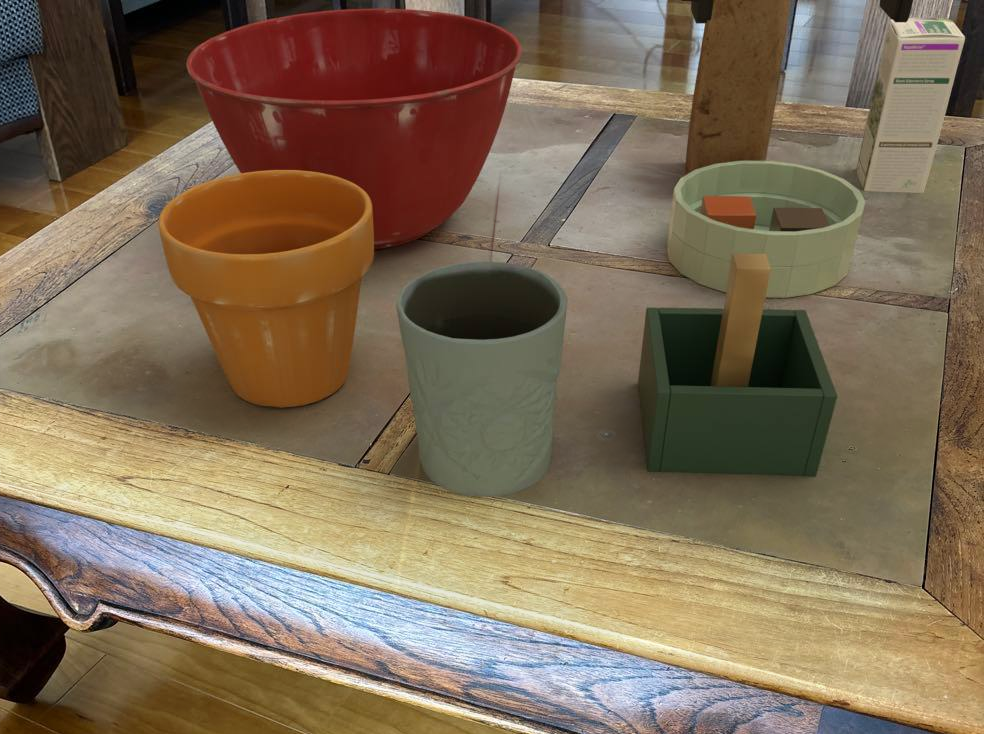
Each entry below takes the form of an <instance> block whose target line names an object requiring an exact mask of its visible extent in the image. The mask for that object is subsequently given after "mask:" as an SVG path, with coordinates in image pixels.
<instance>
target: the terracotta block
mask: <svg viewBox="0 0 984 734" xmlns="http://www.w3.org/2000/svg"><path fill="white" fill-rule="evenodd" d="M700 214H702V215H704V216H706V217H708V218H710V219H712V220H715V221H718V222H722V223H725V224H729V225H732V226H736V227H740V228H747V229H754V226H755V220H756V213H755V210H754V207H753V205H752V202H751V199H750V196H703V198H702V206H701V213H700Z"/></svg>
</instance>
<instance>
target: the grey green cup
mask: <svg viewBox="0 0 984 734" xmlns="http://www.w3.org/2000/svg"><path fill="white" fill-rule="evenodd" d="M395 305H396V313H397V319H398V325H399V330H400V331H399V332H400V336H401V341H402V346H403V349H404V351H403V352H404V357H405V364H406V371H407V379H408V386H409V393H410V399H411V402H412V405H413V408H414V409H413V418H414V424H415V431H416V437H417V444H418V454H419V461H420V464H421V469H422V470H423V472H424V474H425V475H426V476H427V477H428V479H429V480H430V481H432V482H433V483H434V484H436V485H437V486H439V487H441V488H442V489H445V490H447V491H449V492H452V493H455V494H459V495H464V496H468V497H477V498H494V497H502V496H507V495H511V494H515V493H518V492H521V491H523V490H526V489H528V488H529V487H531V486H533V485H535V484H536V483H538V482H539V481H540V480H541V479H542V478H543V477H544V476H545V474H546V473H547V471H548V469H549V468H550V465H551V460H552V453H553V452H552V450H553V444H554V443H553V442H554V425H553V423H554V422H553V420H554V415H555V406H556V403H557V401H558V391H557V383H558V382H557V381H558V378H559V376H560V373H561V365H562V357H563V347H564V337H565V328H566V319H567V312H568V296H567V293H566V291H565V289H563V287H562V286H561V285H560V283H559V282H557V280H555V278H553V277H551V276H550V275H548V274H547V273H545V272H543V271H541V270H538V269H535V268H531V267H528V266H525V265H521V264H517V263H511V262H505V261H469V262H460V263H453V264H449V265H444V266H441V267H438V268H435V269H431V270H429V271H427V272H425V273H423V274H420V275H419V276H417V277H415V278H413V279H412V280H411V281H409V282H408V283H406V285H405V286H404V287H403V288H402V290H401V291H400V292H399V295H398V297H397V300H396V304H395Z"/></svg>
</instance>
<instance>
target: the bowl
mask: <svg viewBox="0 0 984 734" xmlns="http://www.w3.org/2000/svg"><path fill="white" fill-rule="evenodd" d="M703 196H750V199H751V202H752V205H753V207H754V210H755V213H756V220H755V226H754V229H747V228H740V227H736V226H732V225H729V224H725V223H722V222H718V221H715V220H712V219H710V218H708V217H706V216H704V215H702V214H700V213H701V206H702V198H703ZM865 206H866V199H865V198H864V196H863V194H862V193H861V191H860V189H859V188H857V187H855V185H853V184H852V183H850V182H849V181H847V180H846V179H845V178H843V177H840V176H837V175H835V174H833V173H830V172H828V171H826V170H822V169H818V168H815V167H811V166H807V165H803V164H800V163H799V164H798V163H791V162H783V161H776V160H774V161H773V160H766V161H734V162H726V163H717V164H713V165H710V166H706V167H703V168H699V169H696V170H694V171H692V172H690V173H689V174H687V175H685V174H684V175H683V176H682V177H681V178H680V179H679V180H678V182H677V183H676V184H675V186H674V188H673V193H672V201H671V208H670V217H669V219H670V220H669V224H668V233H667V240H666V241H667V242H666V254H667V260H668V262H669V263H670V264H671V265H672V266H673V267H674V268H675V269H676V271H677V272H678V273H680V275H683V276H684V277H686V278H688V279H689V280H691V281H693V282H694V283H696V284H698V285H700V286H703V287H707V288H710V289H713V290H715V291H719V292H722V293H726V290H727V284H728V278H729V272H730V266H731V260H732V254H766V256H767V259H768V262H769V265H770V268H771V271H770V276H769V281H768V286H767V291H766V296H765V298H766V299H767V298H770V299H771V298H775V299H777V298H778V299H785V298H786V299H787V298H793V297H802V296H808V295H814V294H816V293H818V292H822V291H824V290H827V289H830V288H832V287H835V286H836V285H837V284H839V282H841V281H842V280H843V279H844V278H846V277H847V275H848V274H849V269H850V266H851V262H852V259H853V254H854V250H855V247H856V243H857V238H858V234H859V231H860V230H859V229H860V226H861V222H862V219H863V215H864V210H865ZM773 208H822V210H823V212H824V214H825V216H826V218H827V220H828V222H829V225H830V226H827V227H824V228H819V229H811V230H804V231H796V232H790V231H769V228H770V223H771V218H772V213H773Z"/></svg>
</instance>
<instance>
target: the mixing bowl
mask: <svg viewBox="0 0 984 734" xmlns="http://www.w3.org/2000/svg"><path fill="white" fill-rule="evenodd" d="M522 55H523V48H522V45H521V43H520V41H519V39H518V38H517V37H515V35H514V34H512V33H511V32H509V31H508V30H506V29H504V28H502V27H500V26H498V25H496V24H493V23H490V22H487V21H486V20H485V21H484V20H481V19H477V18H474V17H469V16H466V15H461V14H455V13H448V12H440V11H432V10H423V9H409V8H408V9H407V8H402V9H401V8H352V9H349V8H348V9H334V10H323V11H313V12H306V13H298V14H291V15H285V16H281V17H280V16H279V17H275V18H270V19H265V20H260V21H256V22H253V23H248V24H245V25H242V26H238V27H236V28H233V29H230V30H227V31H225V32H221V33H220V34H217V35H216V36H213V37H210V38H209V39H207V40H206V41H204V42H202V43H201V44H199V45H198V46H197V47H195V48H194V49H193V50H192V51H191V52H190V53H189V55H188V56H187V59H186V65H185V66H186V69H187V72H188V74H189V76H190V77H191V78H192V79H193V80H194V81H195V84H196V86H197V89H198V91H199V93H200V96H201V98H202V101H203V103H204V106H205V107H206V110H207V112H208V114H209V116H210V119H211V121H212V123H213V125H214V128H215V130H216V131H217V133H218V136H219V137H220V140H221V142H222V143H223V146H224V147H225V149H226V151H227V152H228V155H229V156H230V158H231V160H232V161H233V163H234V164H235V166H236V168H237V170H238V171H239V174H242V173H248V172H256V171H268V170H300V171H311V172H318V173H323V174H328V175H332V176H336V177H339V178H342V179H345V180H347V181H350V182H352V183H354V184H356V185H357V186H359V187H360V188H362V189H363V190H364V191H365V192H366V193H367V195H368V196H369V198H370V200H371V202H372V212H373V228H374V250H378V249H380V250H381V249H385V248H391V247H398V246H401V245H405V244H408V243H412V242H413V241H416V240H418V239H420V238H422V237H423V236H426V235H427V234H429V233H430V232H431V231H432V230H434V229H435V228H437V227H439V226H440V225H442V224H443V223H444V222H446V221H448V220H449V219H450V218H451V217H452V216H454V214H455V213H456V212H457V211H458V209H459V208H460V207H461V206H462V205H463V203H465V201H466V199H467V197H468V196H469V194H470V193H471V191H472V189H473V187H474V186H475V184H476V182H477V180H478V178H479V176H480V174H481V171H482V170H483V167H484V165H485V163H486V161H487V159H488V156H489V154H490V152H491V150H492V147H493V144H494V141H495V140H496V137H497V134H498V132H499V129H500V126H501V122H502V120H503V116H504V114H505V109H506V106H507V102H508V100H509V99H508V98H509V95H510V91H511V87H512V84H513V79H514V74H515V71H516V66H517V65H518V64H519V62H520V60H521V58H522Z"/></svg>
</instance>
